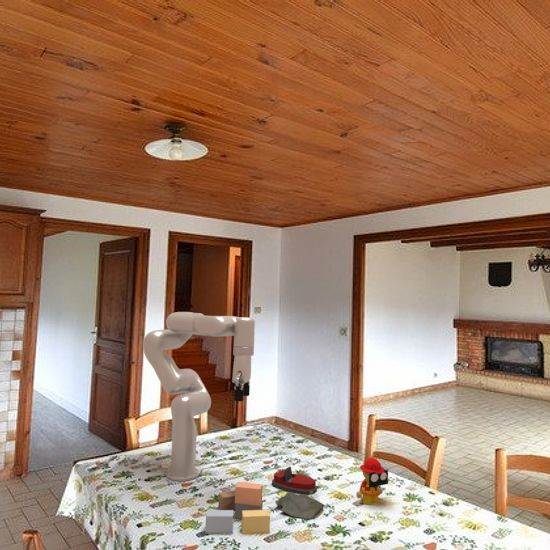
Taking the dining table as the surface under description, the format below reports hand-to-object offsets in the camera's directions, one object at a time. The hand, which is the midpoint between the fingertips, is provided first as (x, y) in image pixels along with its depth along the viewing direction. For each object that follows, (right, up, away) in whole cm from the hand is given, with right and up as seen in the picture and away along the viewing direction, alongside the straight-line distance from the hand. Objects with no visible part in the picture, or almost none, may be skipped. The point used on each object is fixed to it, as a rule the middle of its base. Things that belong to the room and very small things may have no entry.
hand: (241, 398), depth 163 cm
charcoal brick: (+4, -32, -21) cm, 39 cm away
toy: (+46, -35, -7) cm, 58 cm away
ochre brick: (+6, -32, -29) cm, 43 cm away
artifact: (+20, -34, -14) cm, 42 cm away
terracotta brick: (+4, -27, -21) cm, 34 cm away
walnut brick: (-2, -33, -15) cm, 36 cm away
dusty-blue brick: (-5, -31, -29) cm, 43 cm away
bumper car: (+18, -35, +4) cm, 39 cm away
